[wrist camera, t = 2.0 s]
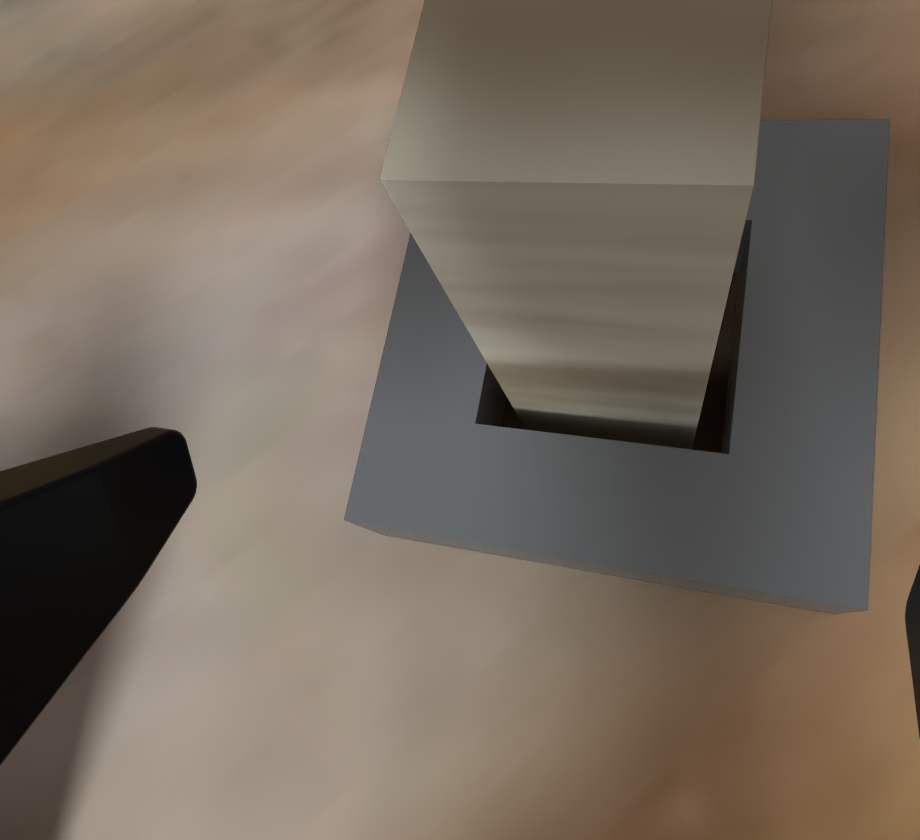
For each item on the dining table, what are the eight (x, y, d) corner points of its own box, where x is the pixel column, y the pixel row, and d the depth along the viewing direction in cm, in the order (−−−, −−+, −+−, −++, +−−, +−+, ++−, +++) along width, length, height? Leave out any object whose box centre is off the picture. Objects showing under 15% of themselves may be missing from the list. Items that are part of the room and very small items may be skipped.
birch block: (692, 449, 21) (753, 185, 9) (525, 429, 22) (379, 179, 10) (708, 295, 22) (785, -126, 10) (551, 286, 23) (446, -90, 11)
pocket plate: (834, 614, 18) (867, 610, 16) (381, 534, 22) (344, 520, 19) (858, 185, 22) (889, 118, 19) (459, 180, 25) (436, 123, 23)
